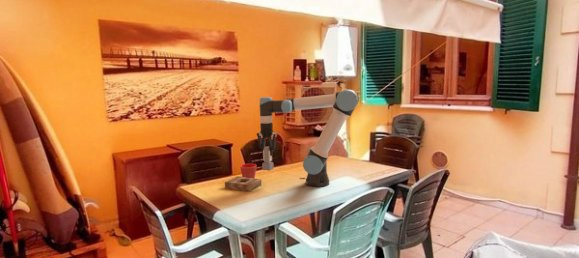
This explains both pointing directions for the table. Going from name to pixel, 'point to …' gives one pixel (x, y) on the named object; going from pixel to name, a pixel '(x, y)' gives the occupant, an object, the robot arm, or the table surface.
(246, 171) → the flower pot
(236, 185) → the well block
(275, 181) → the table surface
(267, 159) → the grey stepped bar
